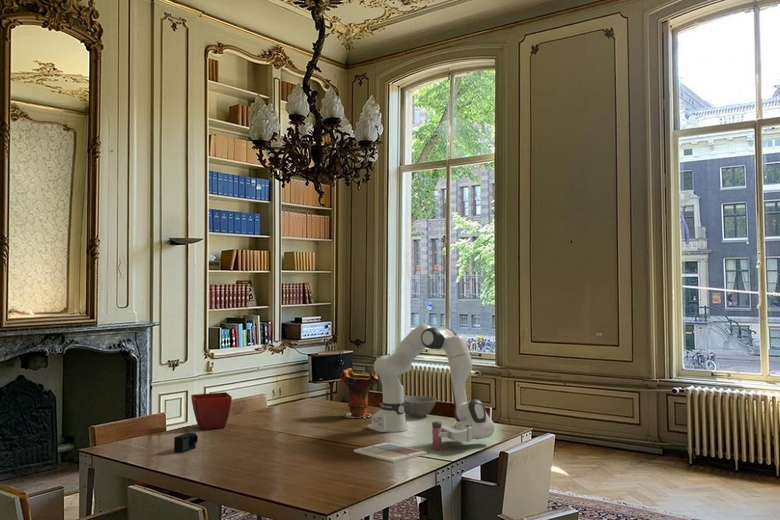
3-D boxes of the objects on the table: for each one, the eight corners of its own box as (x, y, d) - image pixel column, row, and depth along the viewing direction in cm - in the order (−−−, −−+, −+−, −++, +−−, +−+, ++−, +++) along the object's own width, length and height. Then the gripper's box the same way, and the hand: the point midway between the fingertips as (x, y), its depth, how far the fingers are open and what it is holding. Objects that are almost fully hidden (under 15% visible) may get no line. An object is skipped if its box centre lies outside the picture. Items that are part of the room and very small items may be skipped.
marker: (430, 449, 289) (430, 422, 289) (436, 447, 291) (436, 421, 292) (437, 450, 285) (437, 423, 286) (443, 449, 288) (443, 422, 289)
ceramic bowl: (400, 412, 383) (399, 395, 384) (438, 413, 380) (438, 396, 381) (395, 419, 361) (395, 401, 362) (435, 420, 358) (435, 402, 359)
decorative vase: (378, 419, 362) (377, 370, 363) (338, 419, 362) (338, 371, 364) (379, 413, 382) (378, 367, 384) (341, 413, 382) (341, 367, 384)
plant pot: (194, 432, 331) (195, 399, 332) (190, 425, 349) (190, 394, 350) (232, 428, 339) (232, 396, 340) (226, 422, 356) (226, 392, 357)
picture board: (353, 451, 285) (353, 449, 285) (386, 444, 298) (386, 442, 299) (393, 462, 266) (393, 459, 266) (426, 454, 279) (426, 451, 280)
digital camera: (184, 453, 285) (184, 437, 285) (173, 452, 287) (174, 437, 287) (198, 448, 295) (198, 433, 295) (188, 447, 296) (188, 432, 297)
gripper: (451, 420, 304) (425, 422, 298) (472, 428, 285) (445, 430, 279) (451, 433, 303) (425, 436, 298) (473, 442, 284) (445, 445, 279)
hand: (435, 433), depth 289 cm, fingers closed on marker, 4 cm apart
